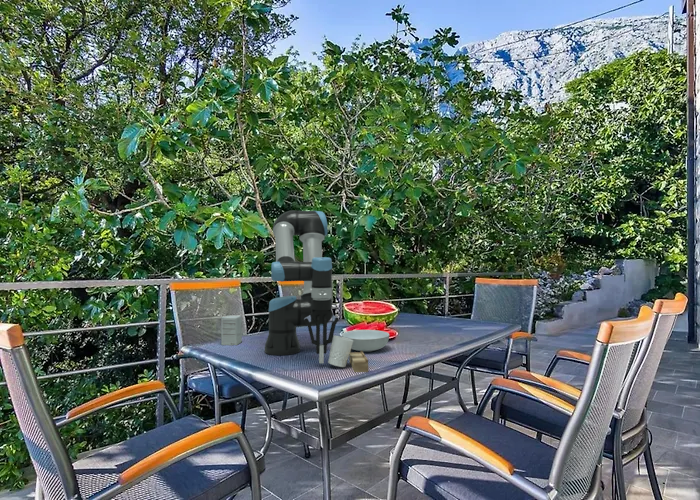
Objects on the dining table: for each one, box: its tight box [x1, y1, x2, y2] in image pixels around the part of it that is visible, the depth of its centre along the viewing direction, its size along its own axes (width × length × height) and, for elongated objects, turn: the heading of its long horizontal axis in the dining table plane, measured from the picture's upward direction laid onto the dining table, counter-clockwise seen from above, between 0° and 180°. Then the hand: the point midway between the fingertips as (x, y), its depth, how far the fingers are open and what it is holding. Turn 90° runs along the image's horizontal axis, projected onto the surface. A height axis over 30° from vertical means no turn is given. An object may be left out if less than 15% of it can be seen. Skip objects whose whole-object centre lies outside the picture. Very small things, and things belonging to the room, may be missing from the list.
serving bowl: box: [341, 329, 390, 353], centre depth 188 cm, size 21×21×7 cm
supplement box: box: [220, 315, 243, 346], centre depth 199 cm, size 7×7×13 cm
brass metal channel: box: [348, 351, 369, 373], centre depth 160 cm, size 15×5×4 cm, turn 7°
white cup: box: [327, 335, 353, 368], centre depth 159 cm, size 8×8×10 cm
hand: (321, 362), depth 159 cm, fingers closed
